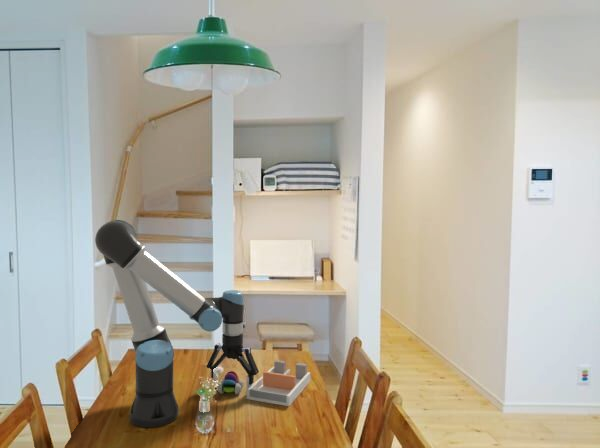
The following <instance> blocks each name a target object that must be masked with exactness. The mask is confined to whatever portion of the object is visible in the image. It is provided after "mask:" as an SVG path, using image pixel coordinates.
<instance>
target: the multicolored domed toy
mask: <svg viewBox="0 0 600 448" xmlns="http://www.w3.org/2000/svg"><path fill="white" fill-rule="evenodd" d="M244 384H245V382H244V380H243V379H241V378H239V375H238V374H237V372H235V371H233V370H231V371H228V372H227V373H226V374H225V375H224V378H223V379H221V381H220V383H218V385H219V386H217V392H218V393H219V394H220V395H223V394H224V392H225V393H235V394H234V395H236V396H237V395H240V393H241V392H242V389H244Z"/></svg>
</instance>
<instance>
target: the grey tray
mask: <svg viewBox="0 0 600 448" xmlns="http://www.w3.org/2000/svg"><path fill="white" fill-rule="evenodd" d="M286 363H287V362H286V360H285V361H284V360H278V359H276V360H275V361H274V366H271V368H270V369H268V370H267V371H266V372H272V373H279V374H284V373H285V372H286V370H287V369H286V366H287V364H286ZM295 376H296V386H295V387H294V388H293V389H292V390H288V389H281V388H275V387H269V386H263V375H262V376H261V377H260V378H258V379H257V380H256V381H255V382H253V384H252V385H251V386H250V387H249V388H248V389H247V394H246V400H251V401H255V402H256V401H257V402H263V403H267V404H274V405H279V406H285V407H290V406H291V405H292V403H294V401H295V400H296V399H297V398H298V396H300V394H301V393H302V391H304V389H305V388H306V387H307V386H308V385H309V383H310V382H311V372H310V371H308V364H306V363H299V362H297V363H296V364H295Z"/></svg>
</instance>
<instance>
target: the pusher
mask: <svg viewBox="0 0 600 448" xmlns="http://www.w3.org/2000/svg"><path fill="white" fill-rule="evenodd" d="M290 372H291V369H290V368H288V369H286V370H285V373H284V374H279V373H272V372H267V371H265V370H264V371H263V372H262V376H263V386H269V387H275V388H281V389H288V390H292V389H293V388H294V387H295V386H296V375H293V374H292V375H290Z"/></svg>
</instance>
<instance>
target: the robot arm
mask: <svg viewBox="0 0 600 448" xmlns="http://www.w3.org/2000/svg"><path fill="white" fill-rule="evenodd" d="M94 240H95V241H94V242H95V246H96V249H97V250H98V251H99V252H100V253H101V254H102V256H103V258H104V261H105V265H106V266H109V267H111V268H112V270H113V273H114V277H115V280H116V282H117V285H118V288H119V291H120V294H121V297H122V301H123V303H124V306H125V309H126V312H127V315H128V319H129V321H130V324H131V325H130V326H131V328H132V331H133V335H132V337H131V343H132V347H133V349H134V352H135V353H134V354H135V355H134V361H135V396H134V399H133V402H132V405H131V408H130V411H129V422H130V423H131V424H132V425H133V426H136V427H140V428H157V427H161V426H166V425H168V424H170V423H172V422H174V421H175V420H176V419H177V418H178V417H179V414H180V413H179V411H180V410H179V404H178V403H177V398H176V396H175V392H174V358H175V351H174V347H173V345H172V342H171V340H170V339H169V336H168V333H167V330H166V327H165V326H164V325H162V324H161V323H159V320H158V316H157V314H156V310H155V308H154V305H153V300H152V299H151V295H150V292H149V288H148V286H147V284H148V285H149V286H150V287H151V288H153V289H154V290H156V292H158V293H159V294H160V295H162V296H163V297H164V298H166V299H167V300H168V301H169V302H170V303H172V304H174V305H175V306H176V307H177V308H178V309H180V310H181V311H183V312H184V314H186V315H188V316H189V319H190V320H193V321H194V322H196V323H197V324H198V325H199V327H200V328H201V329H202V330H204V331H205V332H215V331H216V330H218V329H219V328H220V327H221V326H222V330H221V331H222V335H221V336H222V337H221V339H222V344H221V343H219V342H218V343H216V344H214V348H213V352H212V354H211V355H210V358H209V360H208V362H207V364H206V369H210V370H211V371H210V373H211V374H210V377H211V379H212V381H213V380H214V381H216V380H218V381H219V377H218V378H217V376H216V374H214V372H213V369H214V368H216V367H217V368H218V367H219V365H220V364H222V362H223V361H224V360H225V359H232V360H237V361H236V362H239V364H240V365H241V367H242V368H243V370H244V371H245V372H246V374H247V376H246V378H245V379H246V383H245V384H246V385H245V388H246V389H245V390H246V392H245V394H246V395H247V389H248V388H249V387H250V386H252V385H253V384H254V383H255V382H254V380H255V379H254V377H255V376H257V374H258V373H259V372H260V371H259V368H258V365H257V364H256V361H255V359H254V357H253V354H252V348H251V347H249V346H248V347H244V346H243V344H244V334H243V332H244V304H245V303H244V293H243V292H242V291H240V290H233V289H231V290H225V291H223V293H222V296H219V297H204V296H202V295H201V294H200V293H199V292H197V290H195V289H194V288H192V287H191V286H190V285H189V284H188V283H186V281H184V280H182V278H180V277H179V276H177V274H175V273H174V272H172V270H171V269H169V268H168V267H166V265H164V264H163V263H161V262H160V261H159V260H158V259H157V258H156V257H154V256H153V255H152V254H151V253H149V252H148V251H147V250H146V245H145V244H143V242H141V241H140V240H139V239H138V238H137V233H136V230H135V228H134V226H132V224H130V223H129V222H128V221H124V220H122V219H121V220H120V219H115V220H111V221H108V222H106V223H104V224H103V225H101V227H99V229H98V230H97V232H96V234H95V239H94ZM221 350H222V354H221V355H220V357H219V358H218V359H217V357H218V354H219V353H220V351H221ZM216 359H217V360H216ZM217 368H216V369H217ZM218 376H219V373H218Z"/></svg>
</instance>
